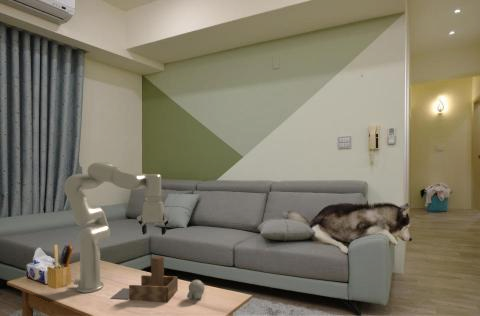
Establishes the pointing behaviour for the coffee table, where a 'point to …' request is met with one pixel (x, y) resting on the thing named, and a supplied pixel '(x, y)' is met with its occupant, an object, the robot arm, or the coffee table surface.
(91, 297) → the coffee table surface
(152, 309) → the coffee table surface
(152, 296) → the crate
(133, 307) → the coffee table surface
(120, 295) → the mat
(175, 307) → the coffee table surface
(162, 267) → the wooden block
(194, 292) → the toy rhinoceros
